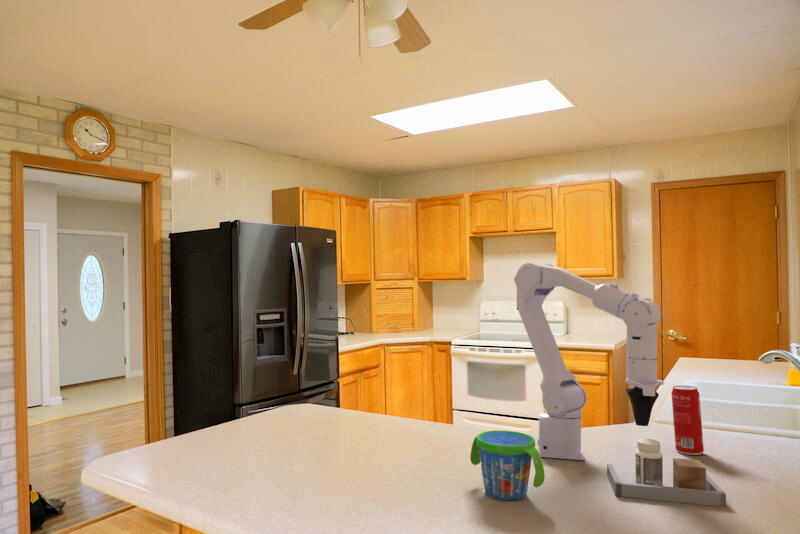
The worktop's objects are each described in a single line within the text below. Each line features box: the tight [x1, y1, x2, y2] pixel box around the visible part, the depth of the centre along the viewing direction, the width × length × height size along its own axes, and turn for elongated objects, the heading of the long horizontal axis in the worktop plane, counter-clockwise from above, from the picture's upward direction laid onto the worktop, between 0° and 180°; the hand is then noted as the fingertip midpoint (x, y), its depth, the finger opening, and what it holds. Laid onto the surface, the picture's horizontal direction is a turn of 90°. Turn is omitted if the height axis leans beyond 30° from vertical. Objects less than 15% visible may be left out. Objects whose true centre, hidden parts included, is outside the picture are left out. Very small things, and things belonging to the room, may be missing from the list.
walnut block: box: [672, 457, 707, 490], centre depth 99 cm, size 4×4×6 cm
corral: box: [606, 463, 727, 508], centre depth 100 cm, size 18×11×2 cm, turn 76°
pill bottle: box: [634, 438, 664, 486], centre depth 102 cm, size 5×5×8 cm
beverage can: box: [671, 385, 705, 456], centre depth 124 cm, size 6×6×15 cm
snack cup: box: [469, 430, 545, 501], centre depth 97 cm, size 16×10×10 cm
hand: (641, 425), depth 108 cm, fingers closed
